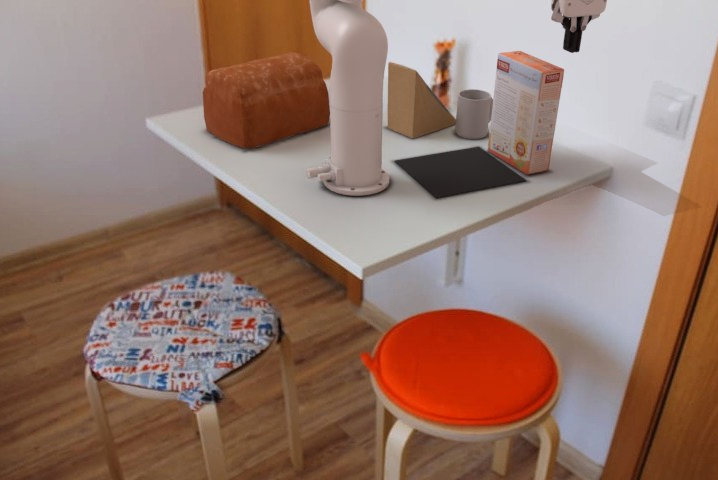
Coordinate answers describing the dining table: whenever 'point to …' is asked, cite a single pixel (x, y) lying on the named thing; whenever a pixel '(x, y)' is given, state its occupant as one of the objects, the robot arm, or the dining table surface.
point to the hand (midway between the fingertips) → (570, 50)
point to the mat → (459, 172)
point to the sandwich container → (413, 104)
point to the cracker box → (524, 111)
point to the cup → (473, 113)
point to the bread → (265, 100)
